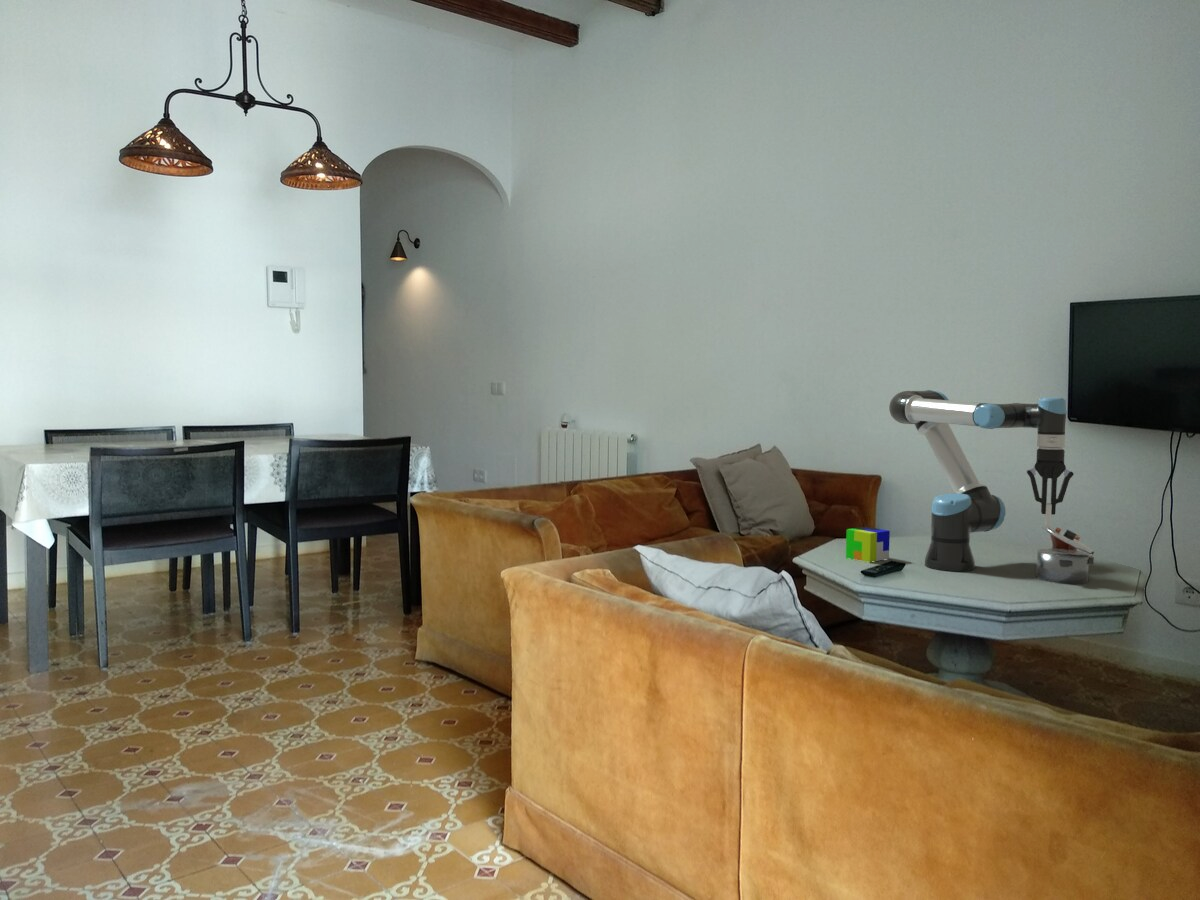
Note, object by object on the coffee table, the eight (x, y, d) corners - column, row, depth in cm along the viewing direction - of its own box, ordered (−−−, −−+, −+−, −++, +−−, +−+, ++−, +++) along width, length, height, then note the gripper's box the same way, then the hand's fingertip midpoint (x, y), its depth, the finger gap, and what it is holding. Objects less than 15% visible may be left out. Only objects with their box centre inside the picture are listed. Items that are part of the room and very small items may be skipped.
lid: (1044, 531, 259) (1050, 523, 259) (1040, 524, 273) (1045, 516, 273) (1095, 558, 255) (1101, 549, 254) (1088, 549, 269) (1094, 541, 268)
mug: (1045, 563, 289) (1046, 532, 288) (1073, 564, 287) (1075, 533, 286) (1056, 570, 277) (1057, 539, 276) (1086, 571, 275) (1087, 539, 274)
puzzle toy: (888, 559, 294) (889, 530, 293) (869, 563, 289) (870, 533, 288) (864, 555, 302) (865, 526, 302) (845, 558, 297) (846, 529, 296)
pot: (1039, 583, 259) (1040, 557, 259) (1033, 570, 277) (1034, 545, 276) (1096, 587, 254) (1097, 560, 253) (1087, 574, 271) (1088, 549, 270)
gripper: (1027, 448, 263) (1025, 525, 265) (1076, 449, 258) (1073, 528, 260) (1026, 446, 270) (1023, 521, 272) (1073, 447, 265) (1070, 524, 267)
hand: (1047, 524), depth 266 cm, fingers closed
